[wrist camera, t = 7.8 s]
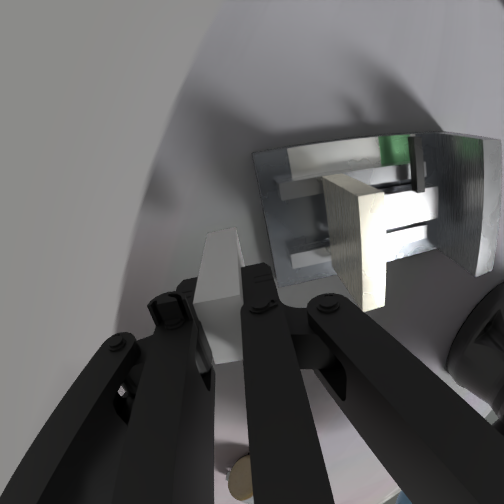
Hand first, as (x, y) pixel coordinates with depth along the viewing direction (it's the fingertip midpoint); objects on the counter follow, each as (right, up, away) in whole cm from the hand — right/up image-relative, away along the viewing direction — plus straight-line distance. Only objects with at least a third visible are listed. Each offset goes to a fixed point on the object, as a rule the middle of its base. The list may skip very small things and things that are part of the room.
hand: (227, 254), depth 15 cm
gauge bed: (+9, +4, +4) cm, 11 cm away
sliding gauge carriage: (+9, +4, +2) cm, 10 cm away
